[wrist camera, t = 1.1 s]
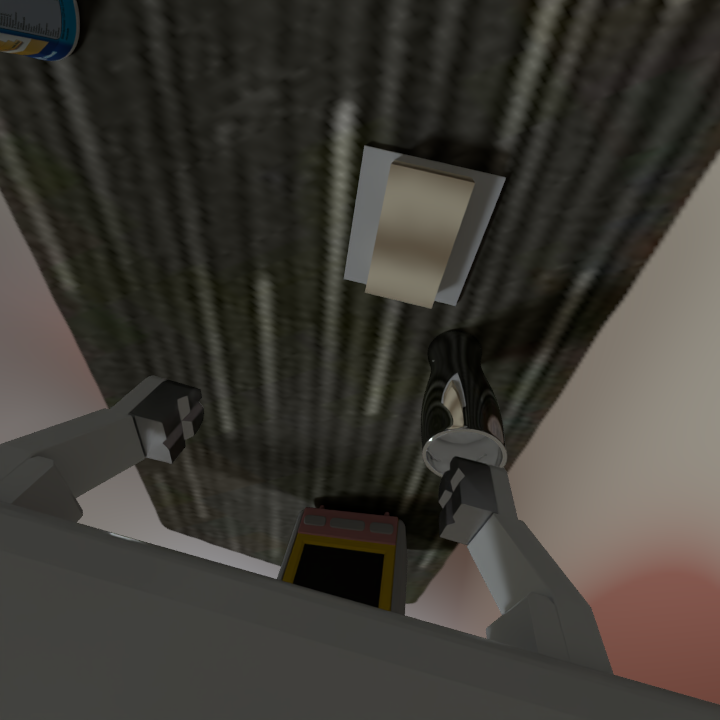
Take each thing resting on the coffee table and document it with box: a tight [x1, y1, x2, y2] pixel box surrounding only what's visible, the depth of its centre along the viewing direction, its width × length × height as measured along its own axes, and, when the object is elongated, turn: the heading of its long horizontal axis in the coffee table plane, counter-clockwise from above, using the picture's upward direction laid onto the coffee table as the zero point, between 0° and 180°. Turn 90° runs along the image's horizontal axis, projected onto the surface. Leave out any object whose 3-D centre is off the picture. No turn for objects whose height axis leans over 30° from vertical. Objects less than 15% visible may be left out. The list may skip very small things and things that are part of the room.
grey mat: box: [344, 145, 506, 306], centre depth 31 cm, size 12×12×1 cm
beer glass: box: [421, 331, 507, 477], centre depth 33 cm, size 7×7×15 cm
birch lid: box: [365, 160, 475, 308], centre depth 30 cm, size 11×7×3 cm, turn 169°
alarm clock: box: [277, 505, 408, 615], centre depth 58 cm, size 20×16×18 cm
